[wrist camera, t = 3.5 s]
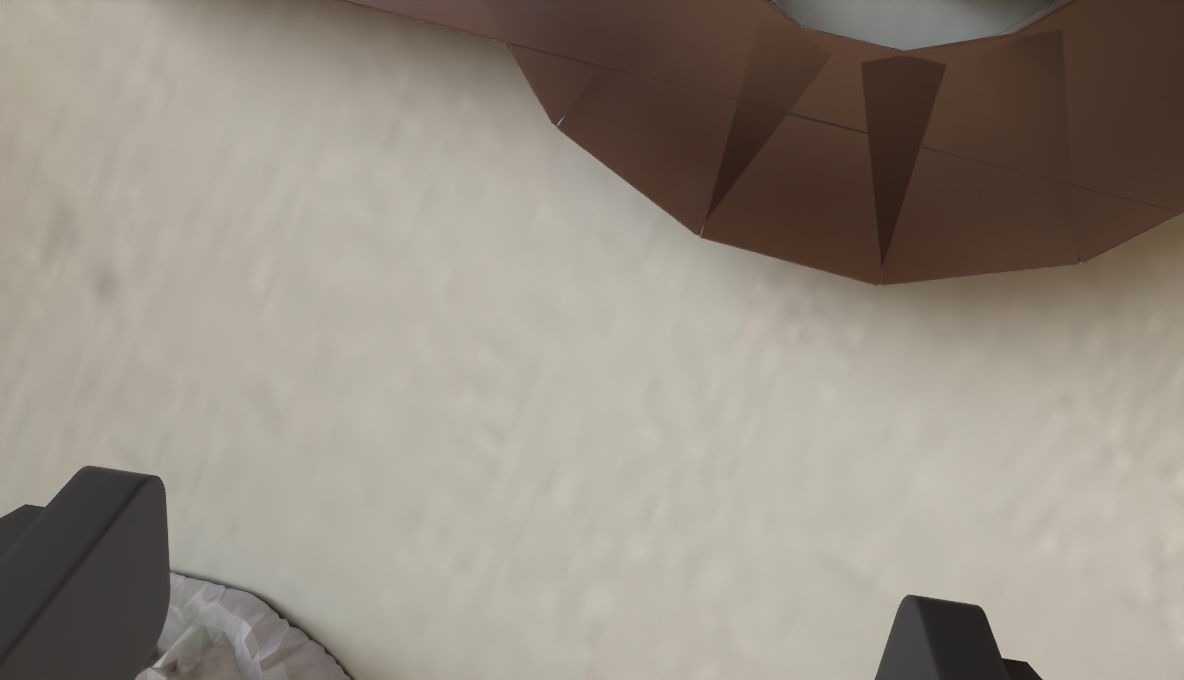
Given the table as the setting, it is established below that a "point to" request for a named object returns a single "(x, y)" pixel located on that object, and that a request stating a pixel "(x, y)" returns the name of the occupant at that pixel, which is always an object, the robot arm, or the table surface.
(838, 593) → the table surface
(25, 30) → the table surface
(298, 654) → the ceramic cottage
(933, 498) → the table surface
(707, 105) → the brown keyhole base
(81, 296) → the table surface
